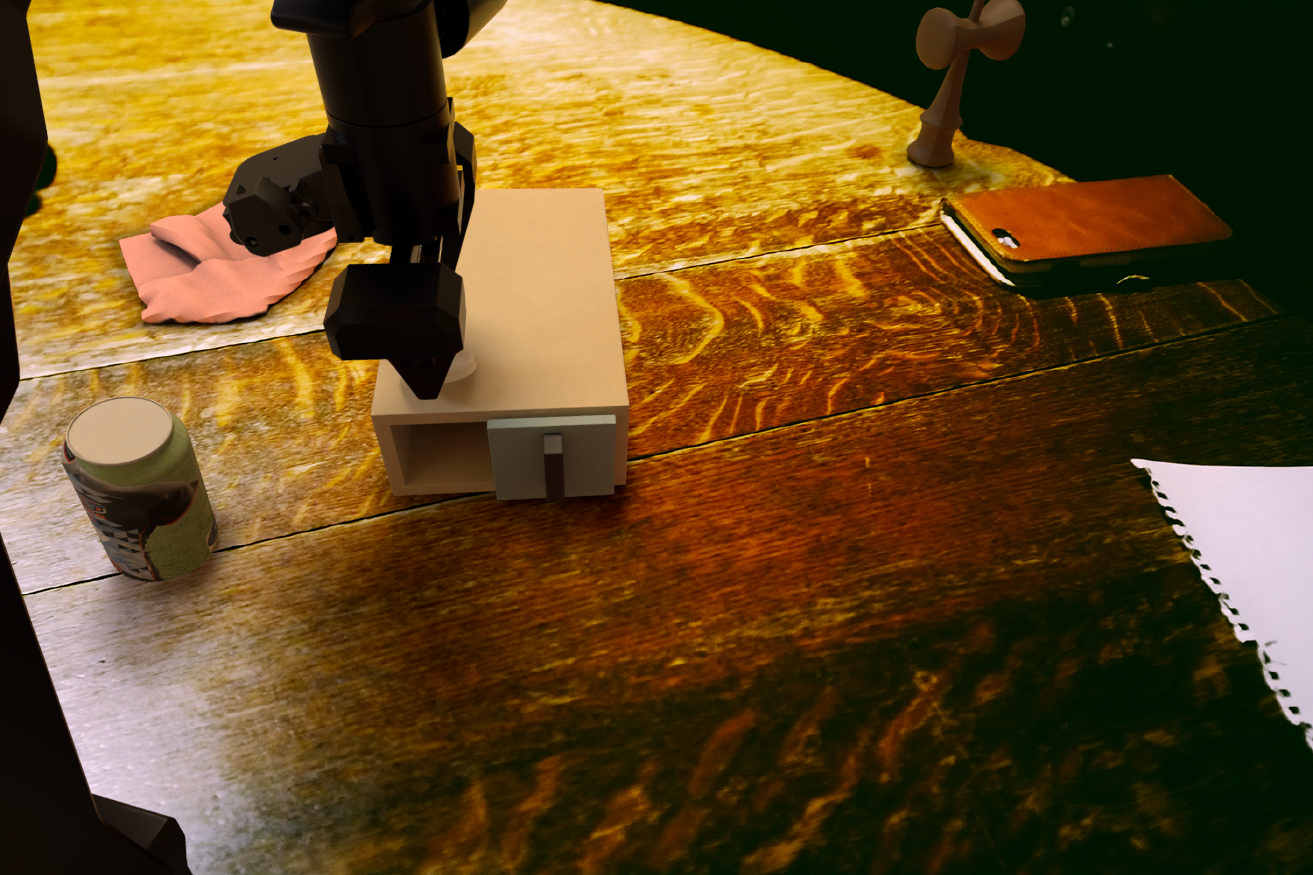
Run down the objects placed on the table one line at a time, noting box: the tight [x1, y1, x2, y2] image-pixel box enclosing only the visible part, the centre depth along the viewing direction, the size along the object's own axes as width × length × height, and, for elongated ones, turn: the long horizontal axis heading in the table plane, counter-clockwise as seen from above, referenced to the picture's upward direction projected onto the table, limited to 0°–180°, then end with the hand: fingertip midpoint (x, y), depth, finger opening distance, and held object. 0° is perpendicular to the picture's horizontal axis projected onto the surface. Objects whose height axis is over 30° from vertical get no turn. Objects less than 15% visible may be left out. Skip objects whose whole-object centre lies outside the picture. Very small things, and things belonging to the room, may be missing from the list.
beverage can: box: [60, 395, 219, 583], centre depth 48 cm, size 6×7×12 cm
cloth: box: [118, 201, 338, 325], centre depth 74 cm, size 20×22×2 cm
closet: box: [370, 187, 630, 497], centre depth 63 cm, size 26×16×8 cm, turn 6°
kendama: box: [906, 0, 1026, 168], centre depth 85 cm, size 6×10×20 cm, turn 117°
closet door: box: [487, 415, 616, 505], centre depth 54 cm, size 3×8×7 cm, turn 96°
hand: (433, 345), depth 51 cm, fingers open, 9 cm apart
